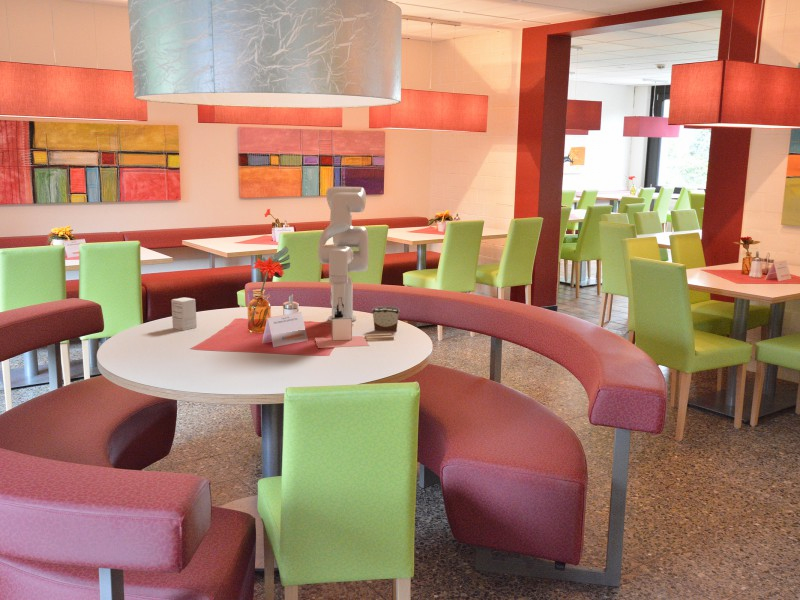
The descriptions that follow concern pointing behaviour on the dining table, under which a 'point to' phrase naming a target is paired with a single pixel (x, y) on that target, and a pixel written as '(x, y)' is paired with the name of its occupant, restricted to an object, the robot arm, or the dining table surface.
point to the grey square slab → (341, 329)
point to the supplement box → (184, 313)
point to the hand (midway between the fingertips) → (338, 323)
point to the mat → (341, 342)
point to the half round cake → (385, 318)
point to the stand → (379, 337)
